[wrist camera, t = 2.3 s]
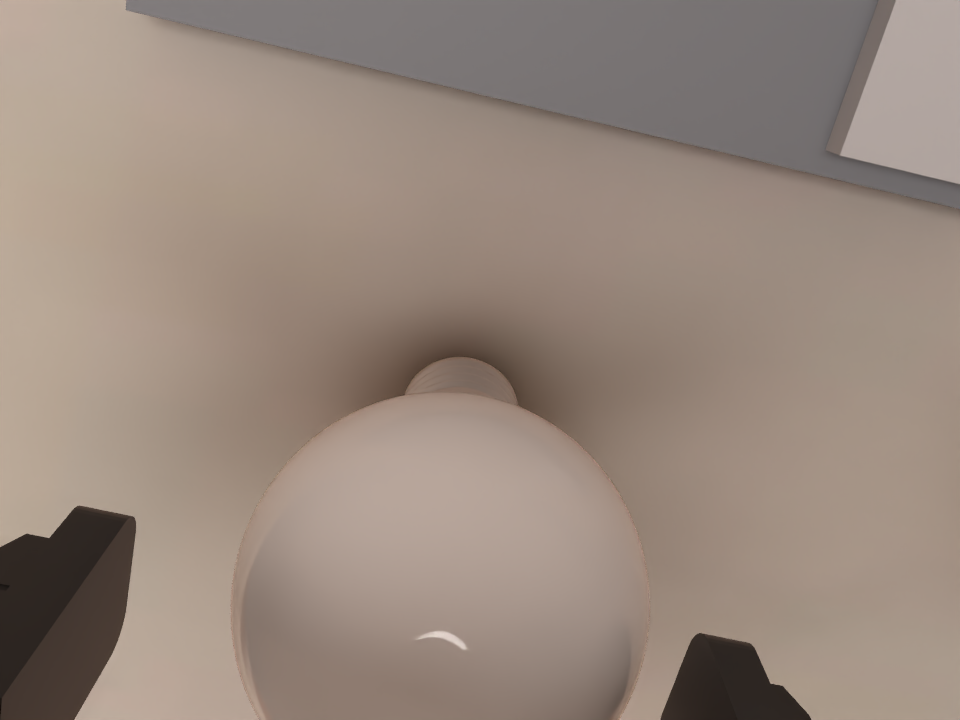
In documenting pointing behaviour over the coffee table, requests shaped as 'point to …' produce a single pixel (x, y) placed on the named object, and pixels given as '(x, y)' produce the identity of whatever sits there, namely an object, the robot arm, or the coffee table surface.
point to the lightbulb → (441, 567)
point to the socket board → (669, 69)
